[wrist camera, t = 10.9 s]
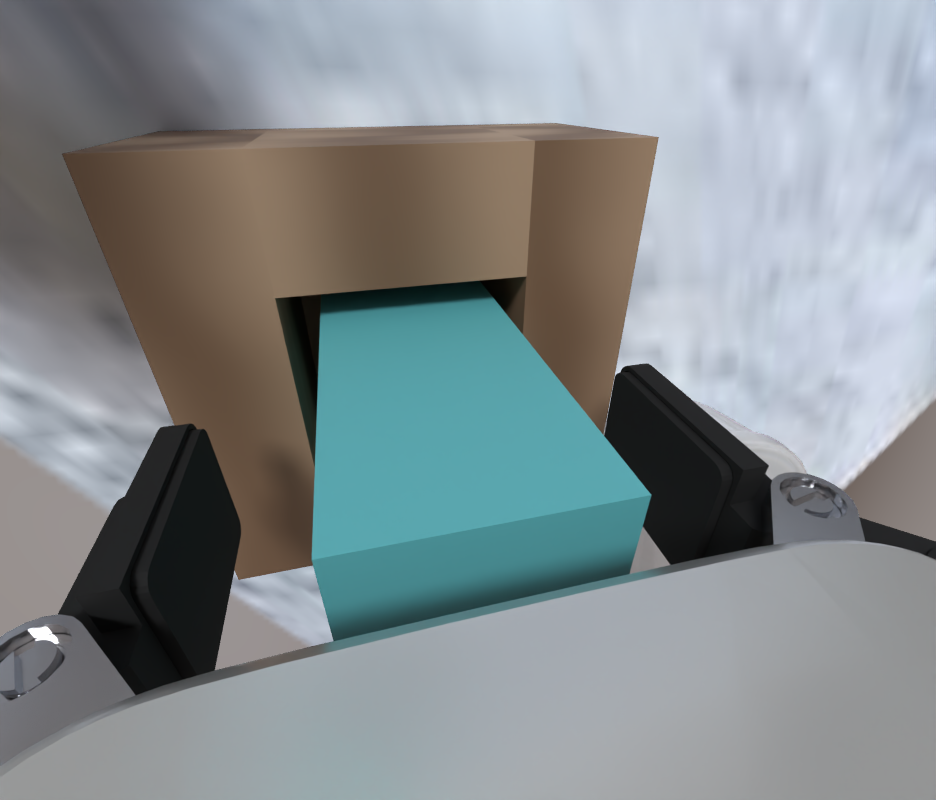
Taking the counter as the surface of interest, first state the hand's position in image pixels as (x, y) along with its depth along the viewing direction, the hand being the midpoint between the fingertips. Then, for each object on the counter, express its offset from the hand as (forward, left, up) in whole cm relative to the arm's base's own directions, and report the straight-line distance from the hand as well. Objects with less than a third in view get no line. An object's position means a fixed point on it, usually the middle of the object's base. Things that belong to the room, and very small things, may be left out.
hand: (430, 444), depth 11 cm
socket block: (0, 0, -8) cm, 8 cm away
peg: (0, 0, -7) cm, 7 cm away
